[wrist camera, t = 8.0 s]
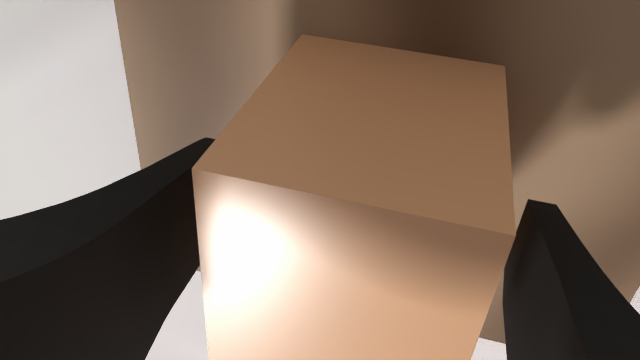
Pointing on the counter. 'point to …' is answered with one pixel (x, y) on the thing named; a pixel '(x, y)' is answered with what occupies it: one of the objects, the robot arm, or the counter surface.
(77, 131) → the counter surface
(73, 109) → the counter surface
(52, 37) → the counter surface
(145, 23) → the post board
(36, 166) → the counter surface
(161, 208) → the robot arm
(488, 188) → the tan rectangular block
